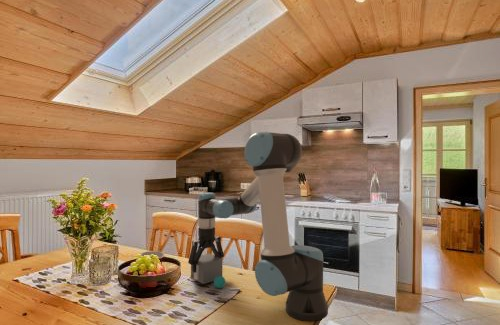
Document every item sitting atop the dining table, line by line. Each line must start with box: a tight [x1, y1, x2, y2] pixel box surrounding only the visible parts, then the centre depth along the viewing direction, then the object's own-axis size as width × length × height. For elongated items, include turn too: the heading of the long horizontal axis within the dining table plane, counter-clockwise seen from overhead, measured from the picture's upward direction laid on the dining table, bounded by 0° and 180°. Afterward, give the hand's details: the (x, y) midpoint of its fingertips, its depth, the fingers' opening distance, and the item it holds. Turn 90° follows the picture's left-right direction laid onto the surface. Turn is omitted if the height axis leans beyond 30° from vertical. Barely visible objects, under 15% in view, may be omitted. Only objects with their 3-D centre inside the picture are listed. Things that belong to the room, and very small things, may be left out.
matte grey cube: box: [190, 253, 223, 285], centre depth 140 cm, size 10×10×9 cm
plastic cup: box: [139, 250, 166, 265], centre depth 141 cm, size 11×11×12 cm
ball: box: [213, 275, 226, 289], centre depth 133 cm, size 5×5×5 cm
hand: (206, 276), depth 140 cm, fingers closed on matte grey cube, 10 cm apart
